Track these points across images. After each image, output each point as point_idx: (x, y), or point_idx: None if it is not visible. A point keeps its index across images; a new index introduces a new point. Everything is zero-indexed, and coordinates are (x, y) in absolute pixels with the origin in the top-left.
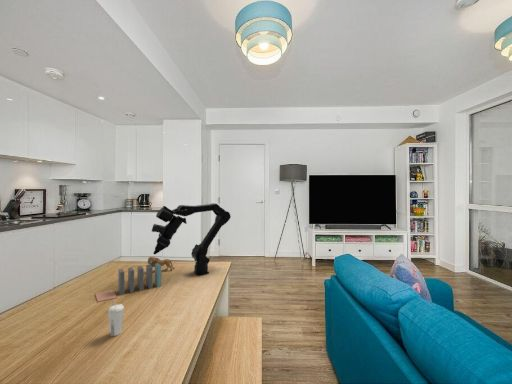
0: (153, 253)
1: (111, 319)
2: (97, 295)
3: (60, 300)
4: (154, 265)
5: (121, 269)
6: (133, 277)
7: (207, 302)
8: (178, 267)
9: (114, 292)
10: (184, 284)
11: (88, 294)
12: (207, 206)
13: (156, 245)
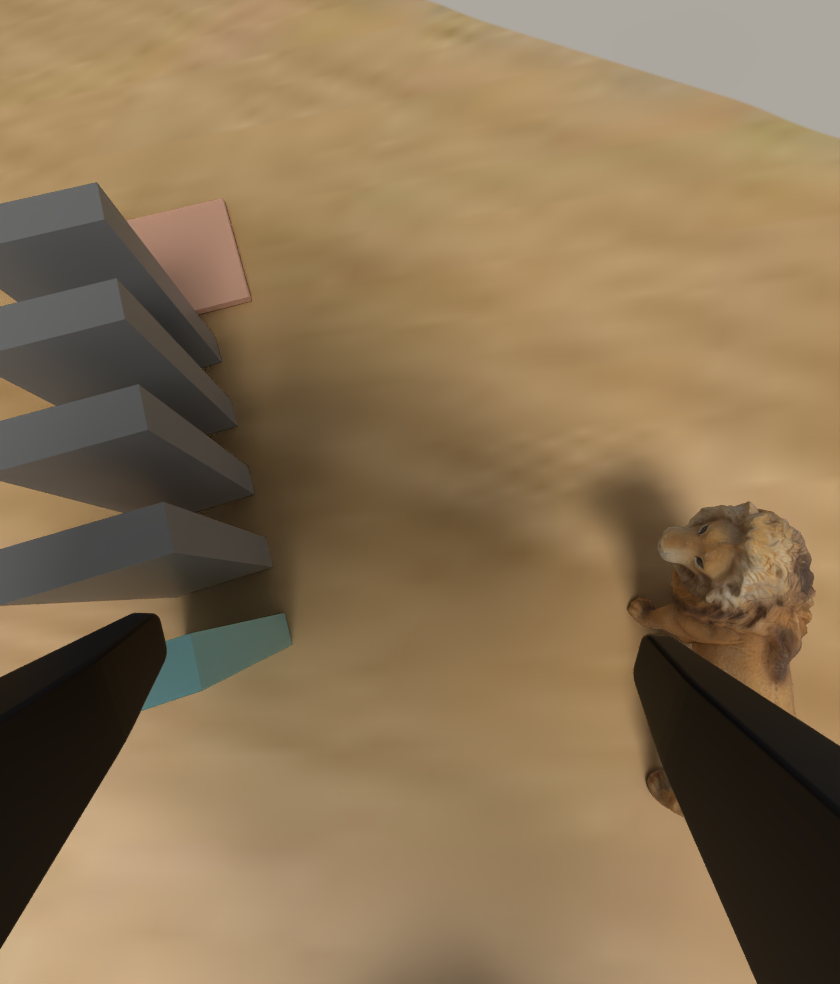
0: (131, 619)
1: None
2: (167, 218)
3: (198, 52)
4: (675, 595)
5: (87, 212)
6: (46, 394)
7: None
8: None
9: None
10: (142, 944)
11: (237, 167)
12: None
13: (708, 704)
